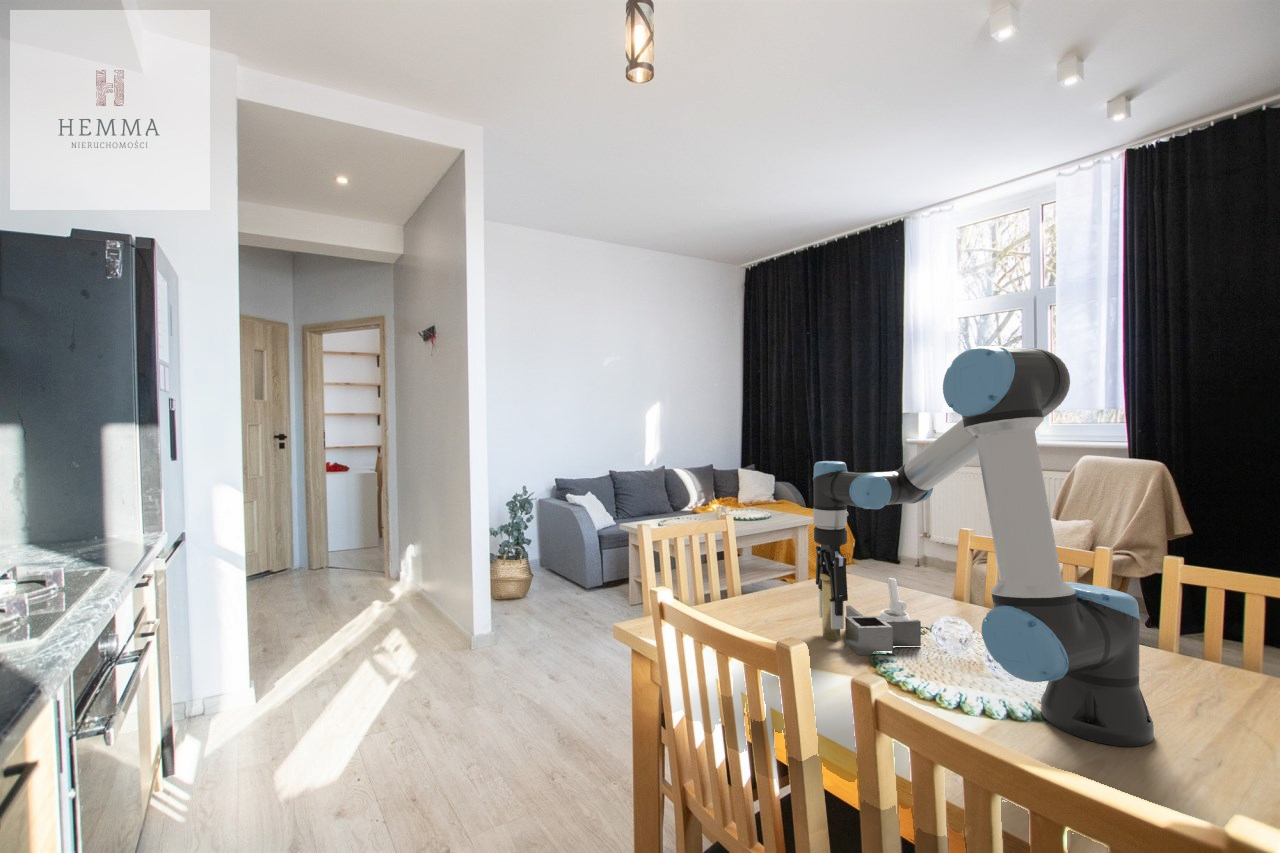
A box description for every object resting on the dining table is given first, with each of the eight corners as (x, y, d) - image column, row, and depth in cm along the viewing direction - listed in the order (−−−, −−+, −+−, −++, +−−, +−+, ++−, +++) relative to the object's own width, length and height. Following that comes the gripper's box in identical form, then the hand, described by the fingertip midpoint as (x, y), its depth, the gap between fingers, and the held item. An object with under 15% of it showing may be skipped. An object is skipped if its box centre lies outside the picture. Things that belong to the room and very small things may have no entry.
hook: (892, 589, 164) (908, 580, 158) (901, 633, 157) (918, 625, 151) (868, 584, 162) (883, 575, 157) (876, 629, 155) (892, 621, 150)
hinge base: (928, 653, 132) (928, 626, 132) (858, 655, 131) (858, 628, 131) (895, 628, 147) (895, 604, 147) (833, 630, 147) (832, 605, 147)
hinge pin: (845, 641, 140) (844, 577, 140) (824, 641, 139) (824, 577, 139) (837, 633, 144) (837, 571, 144) (817, 634, 144) (817, 572, 144)
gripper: (863, 534, 132) (864, 637, 132) (830, 519, 152) (831, 608, 152) (829, 534, 131) (830, 638, 132) (801, 519, 152) (802, 609, 152)
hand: (831, 622), depth 142 cm, fingers open, 7 cm apart
